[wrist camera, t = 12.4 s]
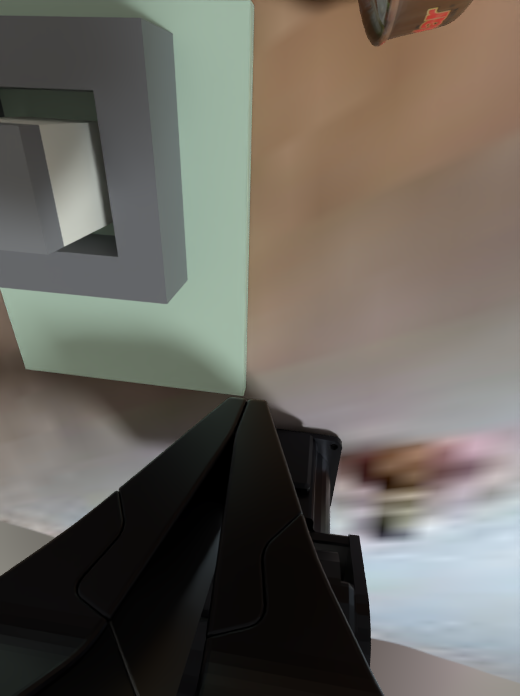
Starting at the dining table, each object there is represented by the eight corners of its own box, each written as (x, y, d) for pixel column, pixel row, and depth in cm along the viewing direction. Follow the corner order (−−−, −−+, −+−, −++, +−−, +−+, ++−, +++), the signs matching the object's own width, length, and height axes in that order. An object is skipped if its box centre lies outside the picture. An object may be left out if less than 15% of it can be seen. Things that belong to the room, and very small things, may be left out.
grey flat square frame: (187, 280, 20) (165, 306, 18) (8, 263, 22) (-39, 285, 19) (172, 33, 15) (138, 16, 13) (-62, 28, 16) (-140, 12, 14)
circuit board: (245, 388, 24) (243, 396, 24) (33, 362, 26) (25, 369, 25) (254, 5, 15) (250, 0, 14) (-76, 1, 17) (-94, -4, 16)
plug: (123, 216, 19) (44, 256, 14) (46, 210, 20) (-59, 245, 14) (111, 121, 17) (13, 125, 12) (25, 116, 18) (-106, 118, 12)
